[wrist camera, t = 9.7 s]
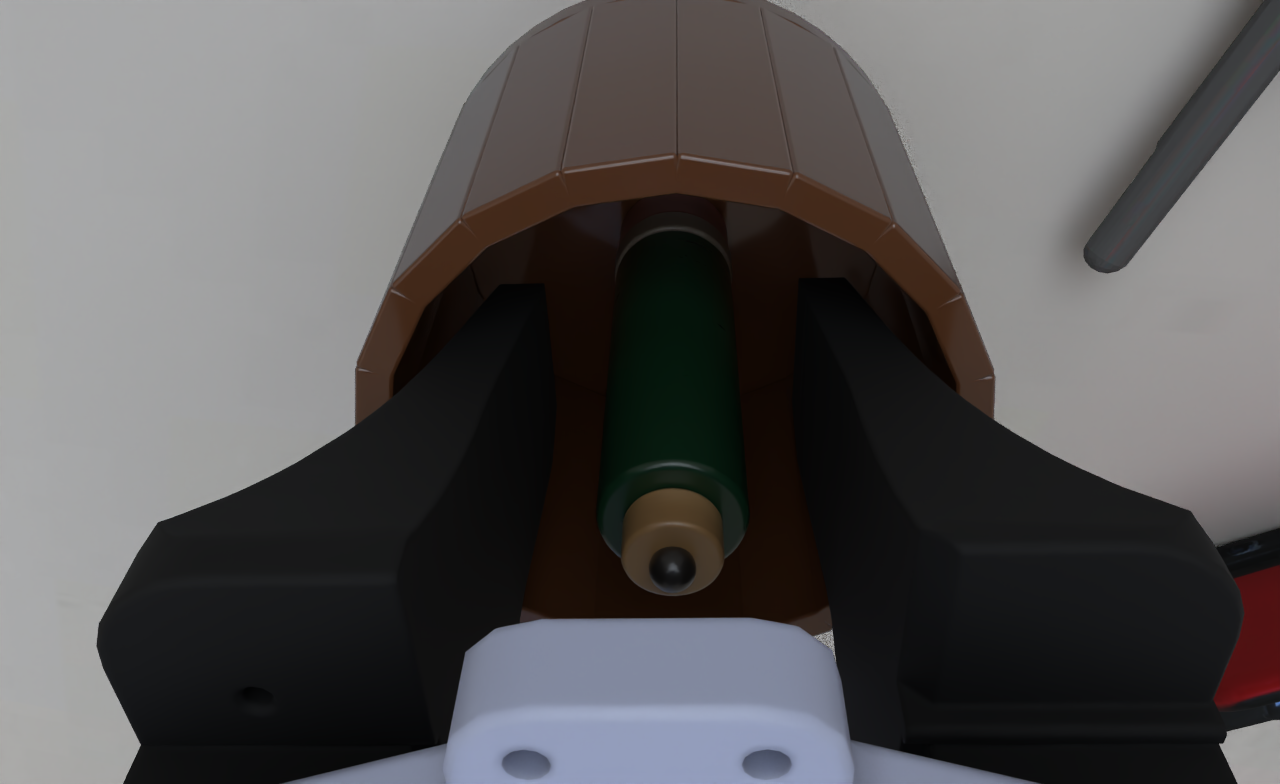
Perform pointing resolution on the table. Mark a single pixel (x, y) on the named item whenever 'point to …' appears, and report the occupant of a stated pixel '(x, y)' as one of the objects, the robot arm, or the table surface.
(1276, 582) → the handheld console
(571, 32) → the pencil cup
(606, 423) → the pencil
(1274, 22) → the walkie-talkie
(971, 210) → the table surface
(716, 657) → the robot arm
